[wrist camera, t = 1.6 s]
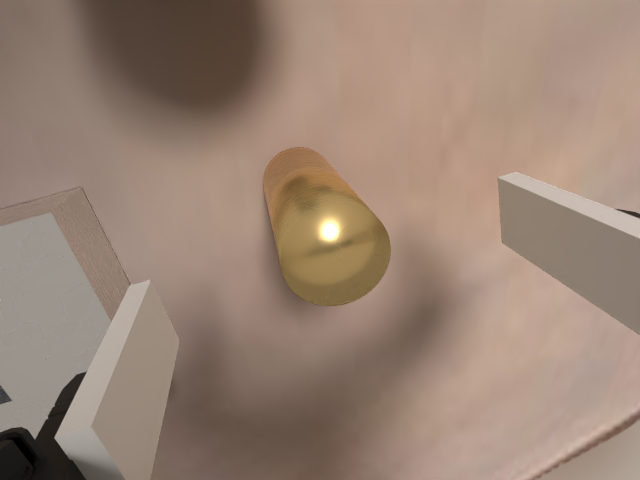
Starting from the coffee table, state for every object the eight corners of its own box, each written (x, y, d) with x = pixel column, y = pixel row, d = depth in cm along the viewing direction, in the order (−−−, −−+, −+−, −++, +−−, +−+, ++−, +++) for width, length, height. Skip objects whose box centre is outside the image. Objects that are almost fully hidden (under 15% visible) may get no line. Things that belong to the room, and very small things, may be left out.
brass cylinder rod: (254, 158, 23) (266, 222, 14) (324, 138, 23) (380, 189, 14) (274, 224, 25) (296, 319, 16) (339, 205, 25) (398, 287, 16)
